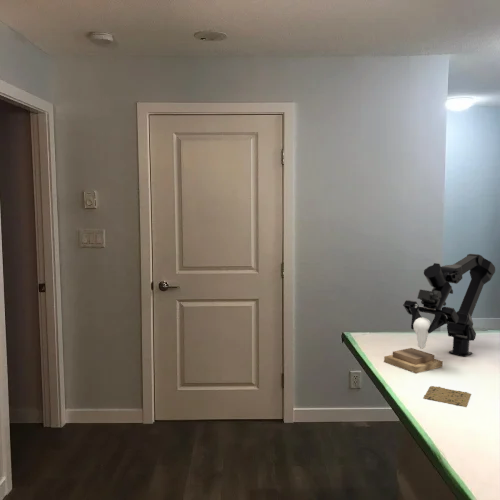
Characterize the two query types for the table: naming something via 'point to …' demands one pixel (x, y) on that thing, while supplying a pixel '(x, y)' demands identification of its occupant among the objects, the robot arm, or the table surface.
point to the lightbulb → (421, 331)
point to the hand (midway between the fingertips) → (420, 330)
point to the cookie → (447, 396)
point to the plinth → (411, 366)
